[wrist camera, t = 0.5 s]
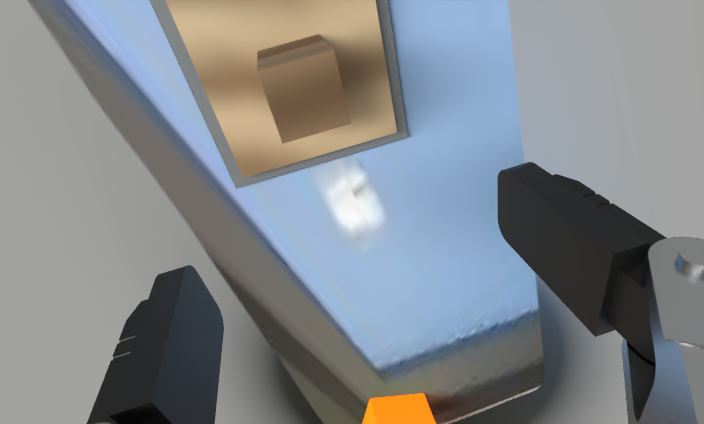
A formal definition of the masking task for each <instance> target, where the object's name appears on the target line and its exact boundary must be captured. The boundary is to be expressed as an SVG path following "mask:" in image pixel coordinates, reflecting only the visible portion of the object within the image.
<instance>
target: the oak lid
mask: <svg viewBox="0 0 704 424" xmlns="http://www.w3.org/2000/svg"><path fill="white" fill-rule="evenodd" d="M165 1H166V3H167V5H168V8H169V10H170V12H171V14H172V17H173V19H174V21H175V24H176V26H177V28H178V30H179V33H180V35H181V37H182V40H183V42H184V44H185V46H186V49H187V51H188V53H189V55H190V58H191V60H192V62H193V65H194V67H195V69H196V71H197V74H198V76H199V78H200V81H201V83H202V85H203V87H204V90H205V92H206V94H207V96H208V99H209V101H210V103H211V106H212V108H213V110H214V112H215V115H216V117H217V119H218V122H219V124H220V126H221V128H222V131H223V133H224V135H225V137H226V140H227V142H228V144H229V147H230V149H231V151H232V153H233V156H234V158H235V160H236V163H237V165H238V167H239V169H240V172H241V174H242V176H243V178H246V177H249V176H252V175H256V174H259V173H263V172H266V171H269V170H273V169H276V168H279V167H283V166H286V165H289V164H293V163H296V162H299V161H303V160H306V159H310V158H313V157H316V156H320V155H323V154H326V153H330V152H333V151H336V150H340V149H343V148H347V147H350V146H353V145H357V144H360V143H363V142H367V141H370V140H373V139H377V138H380V137H383V136H387V135H390V134H394V133H397V128H396V122H395V116H394V110H393V104H392V98H391V92H390V86H389V79H388V73H387V67H386V61H385V55H384V49H383V43H382V37H381V31H380V25H379V19H378V12H377V6H376V0H165Z"/></svg>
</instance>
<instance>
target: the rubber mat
mask: <svg viewBox="0 0 704 424" xmlns="http://www.w3.org/2000/svg"><path fill="white" fill-rule="evenodd" d="M150 2H151V5H152V7H153V9H154V11H155V13H156V15H157V18H158V20H159V22H160V24H161V26H162V28H163V31H164V33H165V35H166V37H167V39H168V42H169V44H170V46H171V48H172V50H173V52H174V55H175V57H176V59H177V61H178V63H179V65H180V68H181V70H182V72H183V74H184V76H185V79H186V81H187V83H188V85H189V87H190V89H191V92H192V94H193V96H194V98H195V100H196V102H197V105H198V107H199V109H200V111H201V113H202V116H203V118H204V120H205V122H206V124H207V126H208V129H209V131H210V133H211V135H212V137H213V139H214V142H215V144H216V146H217V148H218V150H219V153H220V155H221V157H222V159H223V161H224V163H225V166H226V168H227V170H228V172H229V174H230V176H231V179H232V181H233V183H234V185H235V187H236V188H239V187H242V186H246V185H249V184H252V183H256V182H259V181H263V180H266V179H269V178H273V177H276V176H279V175H283V174H286V173H289V172H293V171H296V170H299V169H303V168H306V167H309V166H313V165H316V164H319V163H323V162H326V161H329V160H333V159H336V158H339V157H343V156H346V155H350V154H353V153H356V152H360V151H363V150H366V149H370V148H373V147H376V146H380V145H383V144H386V143H390V142H393V141H396V140H400V139H403V138H406V137H408V133H407V126H406V120H405V113H404V106H403V99H402V93H401V86H400V79H399V73H398V66H397V59H396V52H395V46H394V39H393V32H392V25H391V19H390V12H389V5H388V0H376V6H377V12H378V19H379V25H380V31H381V37H382V43H383V49H384V55H385V61H386V67H387V73H388V79H389V86H390V92H391V98H392V104H393V110H394V116H395V122H396V128H397V133H394V134H390V135H387V136H383V137H380V138H377V139H373V140H370V141H367V142H363V143H360V144H357V145H353V146H350V147H347V148H343V149H340V150H336V151H333V152H330V153H326V154H323V155H320V156H316V157H313V158H310V159H306V160H303V161H299V162H296V163H293V164H289V165H286V166H283V167H279V168H276V169H273V170H269V171H266V172H263V173H259V174H256V175H252V176H249V177H246V178H243V176H242V174H241V172H240V169H239V167H238V165H237V163H236V160H235V158H234V156H233V153H232V151H231V149H230V147H229V144H228V142H227V140H226V137H225V135H224V133H223V131H222V128H221V126H220V124H219V122H218V119H217V117H216V115H215V112H214V110H213V108H212V106H211V103H210V101H209V99H208V96H207V94H206V92H205V90H204V87H203V85H202V83H201V81H200V78H199V76H198V74H197V71H196V69H195V67H194V65H193V62H192V60H191V58H190V55H189V53H188V51H187V49H186V46H185V44H184V42H183V40H182V37H181V35H180V33H179V30H178V28H177V26H176V24H175V21H174V19H173V17H172V14H171V12H170V10H169V8H168V5H167V3H166V1H165V0H150Z"/></svg>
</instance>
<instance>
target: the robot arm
mask: <svg viewBox="0 0 704 424" xmlns="http://www.w3.org/2000/svg"><path fill="white" fill-rule="evenodd" d="M498 224H499V228H500V231H501V233H502V235H503V237H504V239H505V240H506V241H507V243H508V244H509V245H510V246H511V247H512V248H513V249H514V250H515V251H516V252H517V253H518V254H519V255H520V257H521V258H522V259H523V260H524V261H525V262H526V263H527V264H528V265H529V266H530V267H531V268H532V269H533V271H534V272H535V273H536V274H537V275H538V276H539V277H540V278H541V279H542V280H543V281H544V282H545V283H546V284H547V285H548V287H550V289H551V290H552V291H553V292H554V293H555V294H556V295H557V296H558V297H559V298H560V299H561V301H562V302H563V303H564V304H565V305H566V306H567V307H568V308H569V309H570V310H571V311H572V312H573V313H574V314H575V316H576V317H577V318H578V319H579V320H580V321H581V322H582V323H583V324H584V325H585V326H586V327H587V328H588V330H589V331H590V332H591V333H592V334H593V335H594V336H595V337H596V336H599V335H602V334H605V333H608V332H610V331H614V330H616V331H617V332H618V333H619V334H620V335H621V336H622V337H623V338H624V339H623V342H622V357H623V368H624V379H625V390H626V401H627V412H628V423H629V424H704V239H699V238H692V237H672V238H666V237H664V236H663V235H661V234H660V233H658V232H657V231H655V230H653V229H652V228H650V227H649V226H647V225H646V224H644V223H642V222H641V221H640V220H638V219H636V218H635V217H633V216H632V215H630V214H628V213H627V212H626V211H624V210H622V209H621V208H619V207H618V206H616V205H614V204H610V203H609V201H608V200H607V199H605V198H604V197H602V196H601V195H599V194H597V195H596V194H595V192H594V191H593V190H591V189H590V188H588V187H587V186H585V185H584V184H582V183H580V182H579V181H576V180H573V179H570V178H567V177H564V176H560V175H557V174H555V175H551V174H549V173H548V172H546V171H545V170H544V169H542V168H541V167H539V166H538V165H536V164H535V163H532V162H528V163H524V164H521V165H518V166H515V167H511V168H508V169H505V170H502V171H500V173H499V175H498ZM223 326H224V325H223V319H222V315H221V312H220V309H219V307H218V305H217V304H216V302H215V300H214V299H213V297H212V295H211V294H210V292H209V291H208V289H207V287H206V286H205V284H204V282H203V281H202V279H201V277H200V276H199V274H198V273H197V271H196V270H195V268H194V267H192V266H191V265H189V266H185V267H182V268H178V269H175V270H172V271H168V272H165V273H162V274H159V275H158V276H157V277H156V279H155V281H154V284H153V287H152V290H151V293H150V296H149V299H148V300H144V301H141V303H140V304H139V305H138V306H137V308H136V309H135V310H134V311H133V313H132V314H131V315H130V317H129V318H128V319H127V321H126V323H125V325H124V328H123V331H122V333H121V336H120V338H119V341H120V343H119V344H117V346H116V349H115V352H114V354H113V358H114V359H113V360H112V361H111V362H110V365H109V367H108V370H107V372H106V375H105V378H104V381H103V383H102V386H101V388H100V391H99V393H98V396H97V399H96V401H95V404H94V406H93V409H92V412H91V414H90V417H89V420H88V422H87V424H214V423H215V412H216V402H217V393H218V383H219V373H220V362H221V352H222V342H223V331H224V327H223Z"/></svg>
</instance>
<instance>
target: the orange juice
mask: <svg viewBox="0 0 704 424" xmlns="http://www.w3.org/2000/svg"><path fill="white" fill-rule="evenodd" d="M362 424H436V423H435V420H434V418H433V415H432V413H431V410H430V408H429V405H428V403H427V400H426V397H425V395H424V393H421V394H410V395H400V396H389V397H379V398H370V400H369V403H368V407H367V410H366V413H365V416H364V420H363V423H362Z"/></svg>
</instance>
